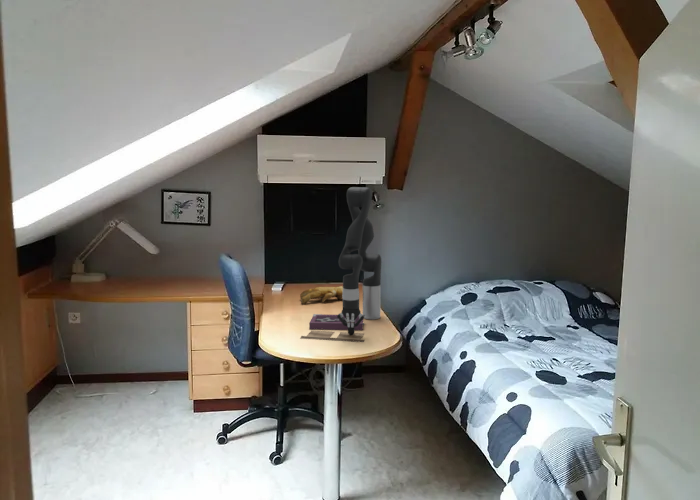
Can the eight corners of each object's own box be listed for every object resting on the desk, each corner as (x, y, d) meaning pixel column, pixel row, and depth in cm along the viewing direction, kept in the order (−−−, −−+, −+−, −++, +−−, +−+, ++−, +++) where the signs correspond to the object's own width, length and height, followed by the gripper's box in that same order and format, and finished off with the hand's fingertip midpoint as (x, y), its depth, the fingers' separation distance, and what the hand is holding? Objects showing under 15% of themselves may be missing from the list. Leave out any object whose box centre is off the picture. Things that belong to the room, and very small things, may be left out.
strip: (301, 339, 245) (301, 335, 245) (364, 343, 239) (364, 339, 239) (299, 341, 242) (299, 337, 242) (363, 345, 236) (363, 341, 236)
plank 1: (311, 332, 254) (311, 330, 254) (334, 334, 251) (334, 331, 251) (306, 339, 245) (305, 336, 245) (329, 340, 243) (329, 337, 243)
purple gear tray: (364, 324, 271) (364, 314, 270) (362, 333, 255) (362, 323, 254) (313, 323, 273) (313, 314, 272) (309, 332, 257) (309, 322, 256)
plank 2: (340, 334, 251) (340, 331, 251) (364, 335, 249) (364, 333, 248) (336, 341, 242) (336, 338, 242) (360, 342, 240) (360, 339, 240)
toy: (302, 309, 312) (351, 303, 320) (302, 294, 308) (352, 288, 317) (296, 299, 324) (344, 293, 333) (296, 285, 321) (345, 279, 330)
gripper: (366, 296, 246) (367, 333, 249) (338, 295, 249) (338, 331, 252) (363, 300, 239) (364, 338, 242) (334, 299, 242) (335, 336, 245)
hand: (351, 334), depth 247 cm, fingers closed
